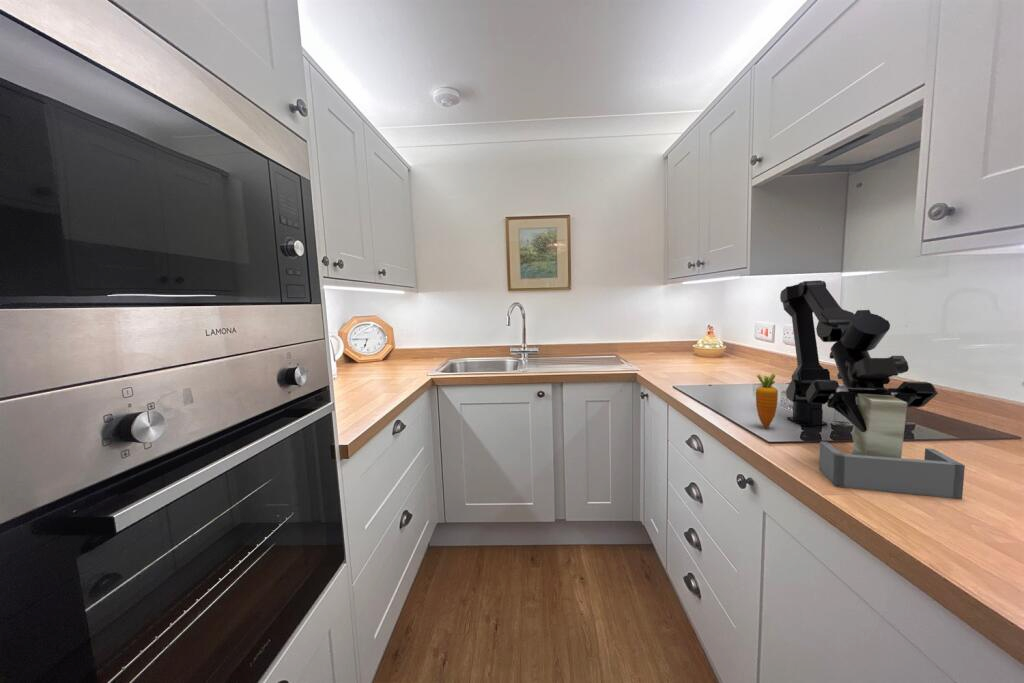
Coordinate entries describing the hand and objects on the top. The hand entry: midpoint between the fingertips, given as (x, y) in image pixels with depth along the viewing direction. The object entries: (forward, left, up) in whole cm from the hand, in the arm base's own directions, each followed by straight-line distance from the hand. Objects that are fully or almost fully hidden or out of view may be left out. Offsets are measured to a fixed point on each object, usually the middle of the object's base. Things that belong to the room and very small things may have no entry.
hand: (882, 432), depth 69 cm
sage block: (-1, 0, -7) cm, 7 cm away
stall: (+1, 0, -9) cm, 9 cm away
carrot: (-29, -3, -10) cm, 31 cm away
